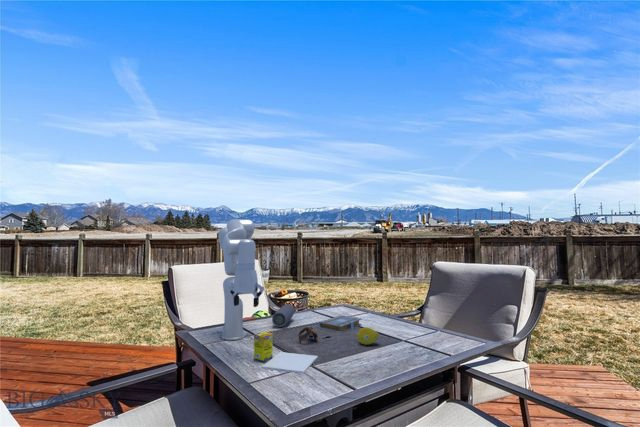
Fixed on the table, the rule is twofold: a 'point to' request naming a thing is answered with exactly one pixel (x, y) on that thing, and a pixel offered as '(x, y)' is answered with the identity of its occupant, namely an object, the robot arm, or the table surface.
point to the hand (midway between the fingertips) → (246, 305)
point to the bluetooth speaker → (283, 315)
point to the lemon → (367, 336)
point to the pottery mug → (308, 334)
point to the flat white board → (290, 362)
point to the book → (340, 324)
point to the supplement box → (263, 346)
